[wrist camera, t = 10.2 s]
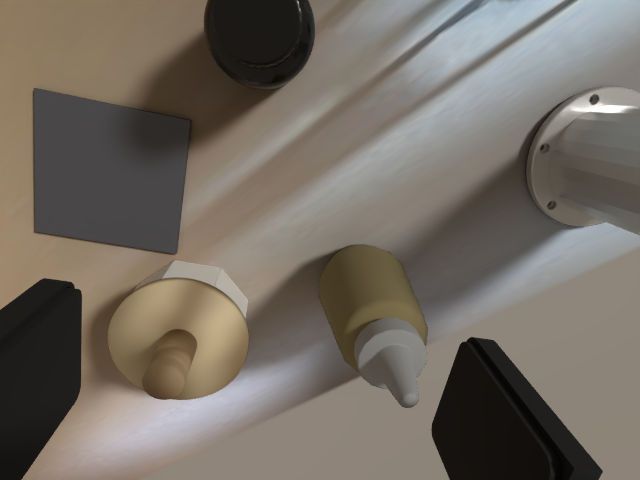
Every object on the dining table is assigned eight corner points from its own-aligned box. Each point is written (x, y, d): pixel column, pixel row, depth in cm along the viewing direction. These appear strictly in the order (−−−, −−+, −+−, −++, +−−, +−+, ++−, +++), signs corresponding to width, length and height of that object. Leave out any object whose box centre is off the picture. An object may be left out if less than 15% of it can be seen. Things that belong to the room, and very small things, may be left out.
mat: (191, 120, 34) (190, 120, 34) (177, 252, 38) (175, 254, 38) (36, 88, 33) (34, 88, 32) (37, 230, 36) (34, 231, 36)
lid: (258, 288, 35) (254, 326, 29) (238, 398, 39) (231, 450, 33) (116, 267, 33) (82, 302, 28) (108, 384, 37) (77, 436, 31)
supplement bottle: (262, 108, 35) (252, 114, 23) (203, 38, 32) (160, 9, 21) (325, 50, 33) (345, 28, 22) (267, -25, 31) (258, -92, 20)
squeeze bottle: (411, 280, 41) (500, 410, 24) (343, 322, 42) (383, 475, 25) (370, 216, 39) (438, 311, 22) (298, 262, 39) (310, 387, 23)
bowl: (253, 272, 39) (249, 294, 35) (237, 363, 43) (232, 393, 38) (140, 254, 38) (122, 274, 34) (132, 350, 41) (115, 379, 37)
